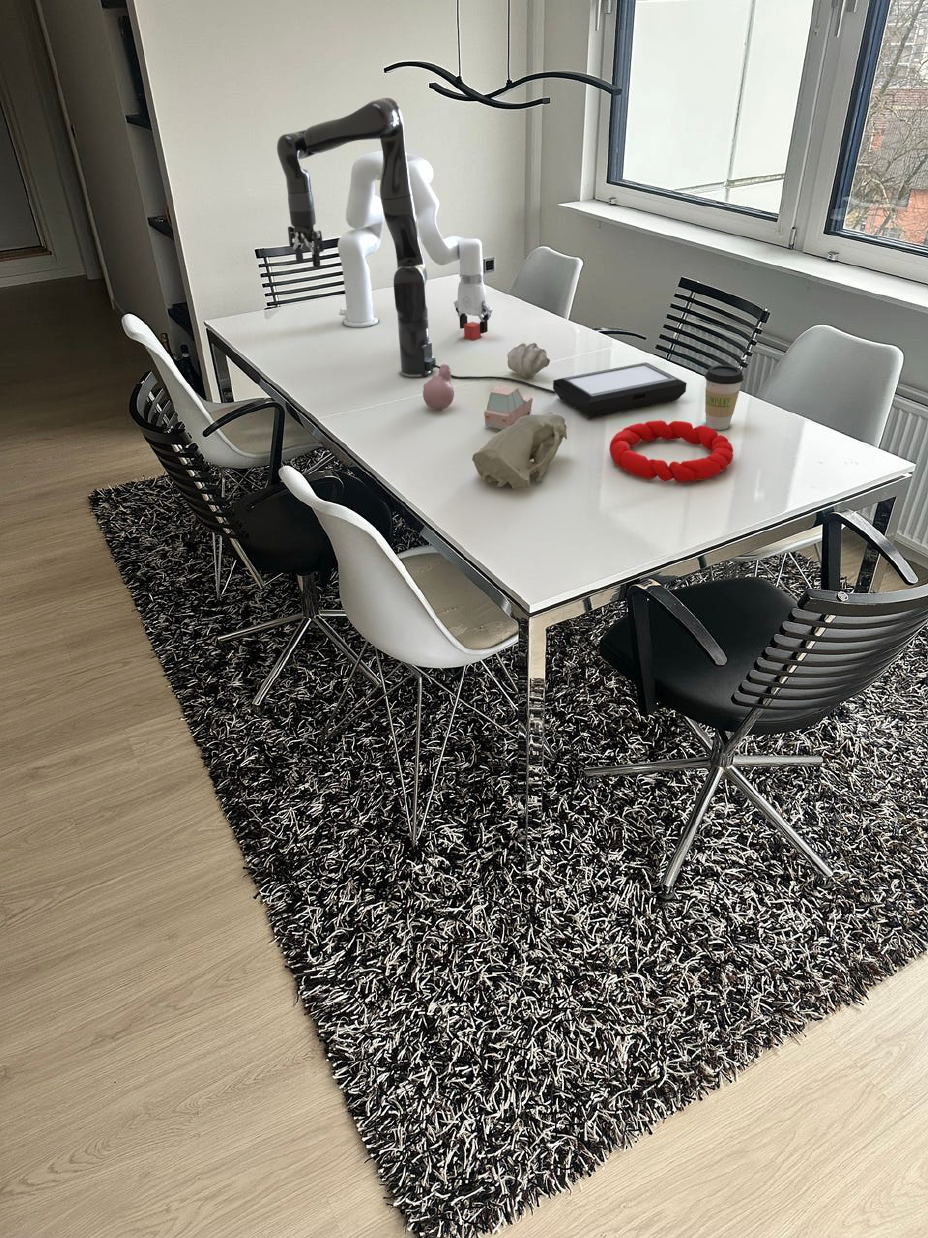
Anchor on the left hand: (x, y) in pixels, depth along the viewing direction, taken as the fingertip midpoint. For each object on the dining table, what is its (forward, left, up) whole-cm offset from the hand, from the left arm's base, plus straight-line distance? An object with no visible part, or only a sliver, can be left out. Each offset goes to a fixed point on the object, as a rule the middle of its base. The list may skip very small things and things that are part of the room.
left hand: (473, 330), depth 308 cm
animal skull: (+62, -91, -3) cm, 110 cm away
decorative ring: (+91, -69, -3) cm, 115 cm away
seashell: (+34, -28, -3) cm, 44 cm away
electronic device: (+66, -36, -3) cm, 75 cm away
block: (0, 0, -3) cm, 3 cm away
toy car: (+44, -64, -3) cm, 78 cm away
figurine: (+21, -63, -3) cm, 66 cm away
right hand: (-36, -41, +28) cm, 61 cm away
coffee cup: (+96, -43, -3) cm, 106 cm away
